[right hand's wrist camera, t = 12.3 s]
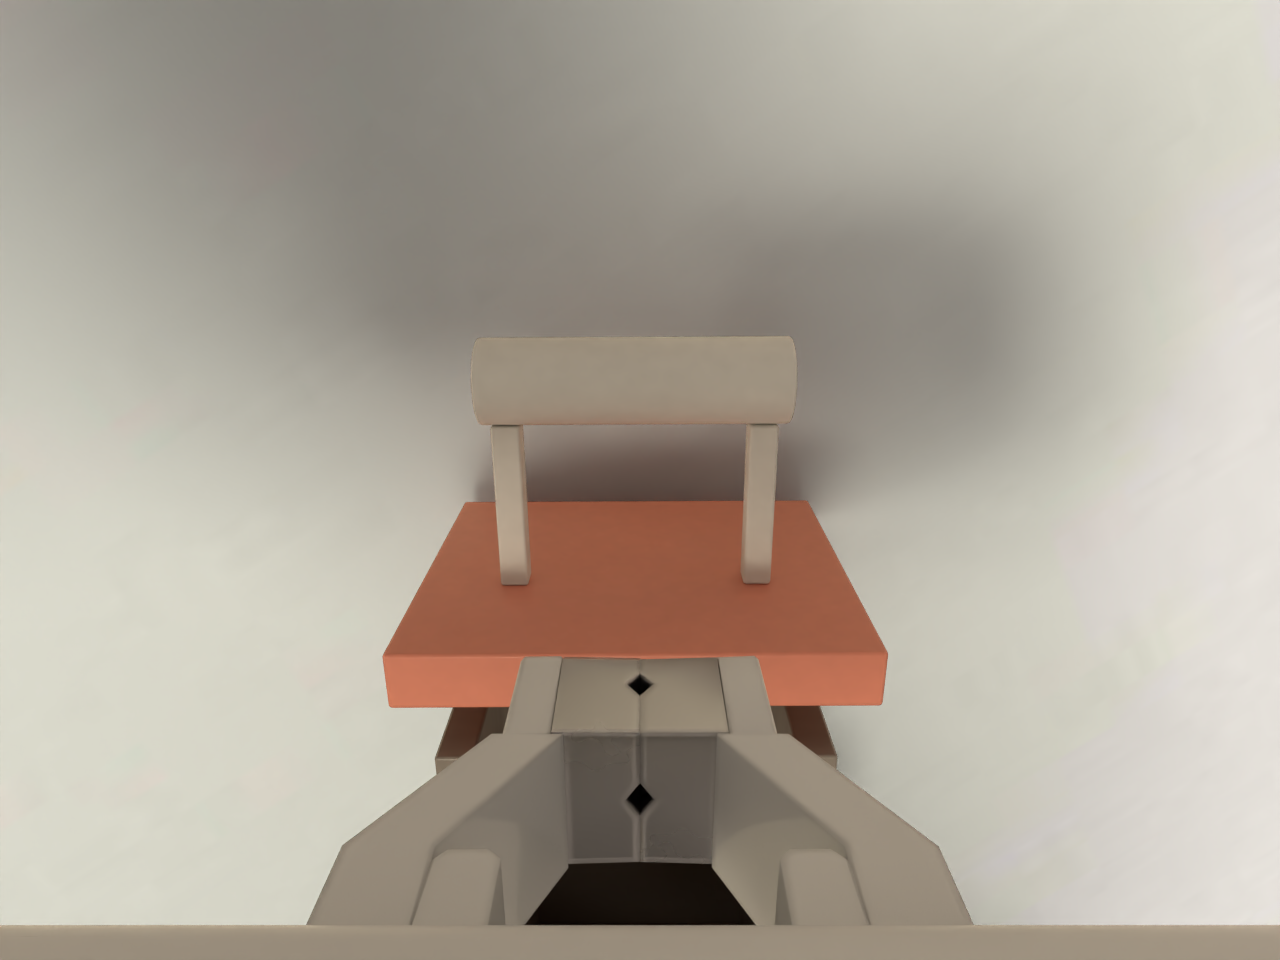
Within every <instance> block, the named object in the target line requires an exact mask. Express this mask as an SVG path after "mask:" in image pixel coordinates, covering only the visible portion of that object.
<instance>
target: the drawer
mask: <svg viewBox="0 0 1280 960" xmlns="http://www.w3.org/2000/svg"><path fill="white" fill-rule="evenodd" d="M471 393H472V402H473V408H474V412H475V416H476V419H477V421H478V423H479V424H481V425H492V426H491V429H490V433H491V447H492V461H493V475H494V489H495V502H466V503H465V504H464V506H463V508H462V510H461V512H460V513H459V515H458V517H457V519H456V521H455V523H454V524H453V526H452V528H451V530H450V532H449V534H448V536H447V537H446V539H445V541H444V543H443V545H442V547H441V549H440V550H439V552H438V554H437V556H436V558H435V560H434V561H433V563H432V565H431V567H430V569H429V571H428V573H427V574H426V576H425V578H424V580H423V582H422V584H421V586H420V587H419V589H418V591H417V593H416V595H415V597H414V599H413V600H412V602H411V604H410V606H409V608H408V610H407V611H406V613H405V615H404V617H403V619H402V621H401V623H400V624H399V626H398V628H397V630H396V632H395V634H394V636H393V637H392V639H391V641H390V643H389V645H388V647H387V648H386V650H385V652H384V654H383V664H384V672H385V679H386V687H387V694H388V702H389V706H390V707H392V708H414V707H453V709H452V711H451V714H450V717H449V720H448V723H447V726H446V728H445V731H444V734H443V737H442V740H441V743H440V745H439V748H438V751H437V754H436V757H435V764H436V773H437V774H438V773H440V772H441V771H442V770H444V769H445V768H446V767H448V766H449V765H450V764H452V763H453V762H454V761H456V760H457V759H458V758H460V757H461V756H462V755H464V754H465V753H466V752H468V751H469V750H470V749H472V748H473V747H474V746H476V745H477V744H478V743H480V742H481V741H482V740H484V739H485V738H486V737H488V736H489V735H490V734H503V730H504V726H505V722H506V718H507V714H508V710H509V706H510V702H511V698H512V694H513V690H514V687H515V683H516V679H517V675H518V671H519V667H520V663H521V661H522V660H523V658H524V657H529V656H561V657H562V658H564V657H611V658H640V659H671V658H711V657H735V656H755V657H756V658H758V660H759V664H760V667H761V671H762V675H763V679H764V683H765V687H766V691H767V695H768V699H769V703H770V707H771V711H772V715H773V719H774V723H775V727H776V731H777V734H790V735H791V736H792V737H794V738H795V739H796V740H798V741H799V742H800V743H802V744H803V745H804V746H806V747H807V748H808V749H810V750H811V751H812V752H814V753H815V754H816V755H818V756H819V757H820V758H822V759H823V760H824V761H826V762H827V763H828V764H830V765H831V766H832V767H833V768H835V769H836V766H837V754H836V751H835V748H834V745H833V742H832V740H831V737H830V734H829V731H828V728H827V725H826V722H825V719H824V716H823V713H822V711H821V708H820V706H839V705H881V704H882V702H883V693H884V685H885V676H886V668H887V659H888V653H887V651H886V649H885V647H884V645H883V643H882V641H881V639H880V637H879V635H878V633H877V632H876V630H875V628H874V626H873V624H872V622H871V620H870V618H869V616H868V615H867V613H866V611H865V609H864V607H863V605H862V603H861V601H860V599H859V597H858V596H857V594H856V592H855V590H854V588H853V586H852V584H851V582H850V580H849V579H848V577H847V575H846V573H845V571H844V569H843V567H842V565H841V563H840V561H839V560H838V558H837V556H836V554H835V552H834V550H833V548H832V546H831V544H830V542H829V541H828V539H827V537H826V535H825V533H824V531H823V529H822V527H821V525H820V524H819V522H818V520H817V518H816V516H815V514H814V512H813V510H812V508H811V506H810V505H809V503H808V501H806V500H805V501H775V488H776V470H777V453H778V435H779V427H778V425H777V424H787V423H789V422H790V421H791V419H792V417H793V414H794V410H795V404H796V395H797V357H796V350H795V345H794V342H793V340H792V338H791V337H789V336H716V337H515V338H478V339H477V340H476V341H475V344H474V347H473V352H472V359H471ZM590 424H747V429H746V453H745V477H744V500H743V501H599V502H527V488H526V471H525V453H524V436H523V425H590ZM525 925H755V923H754V922H753V921H752V919H751V918H750V917H749V915H748V914H747V913H746V911H745V910H744V909H743V908H742V906H741V905H740V904H739V902H738V901H737V900H736V898H735V897H734V896H733V894H732V893H731V892H730V890H729V889H728V888H727V887H726V885H725V884H724V883H723V881H722V880H721V879H720V877H719V876H718V875H717V873H716V872H715V871H714V870H713V868H712V864H699V863H664V862H615V863H580V864H568V869H567V870H566V872H565V873H564V874H563V876H562V877H561V878H560V879H559V881H558V882H557V883H556V885H555V886H554V887H553V889H552V890H551V891H550V893H549V894H548V895H547V896H546V898H545V899H544V900H543V902H542V903H541V904H540V906H539V907H538V908H537V909H536V911H535V912H534V913H533V915H532V916H531V917H530V919H529V920H528V921H527V922H526V924H525Z"/></svg>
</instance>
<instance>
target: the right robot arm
mask: <svg viewBox="0 0 1280 960" xmlns="http://www.w3.org/2000/svg"><path fill="white" fill-rule="evenodd" d="M615 862H664V863H699V864H712V868H713V870H714V871H715V872H716V873H717V875H718V876H719V877H720V879H721V880H722V881H723V883H724V884H725V885H726V887H727V888H728V889H729V890H730V892H731V893H732V894H733V896H734V897H735V898H736V900H737V901H738V902H739V904H740V905H741V906H742V908H743V909H744V910H745V911H746V913H747V914H748V915H749V917H750V918H751V919H752V921H753V922H754V923H755V925H525V924H526V922H527V921H528V920H529V919H530V917H531V916H532V915H533V913H534V912H535V911H536V909H537V908H538V907H539V906H540V904H541V903H542V902H543V900H544V899H545V898H546V896H547V895H548V894H549V893H550V891H551V890H552V889H553V887H554V886H555V885H556V883H557V882H558V881H559V879H560V878H561V877H562V876H563V874H564V873H565V872H566V870H567V869H568V864H580V863H615ZM0 960H1280V925H974V924H973V922H972V920H971V918H970V915H969V913H968V911H967V909H966V907H965V904H964V902H963V900H962V898H961V895H960V893H959V891H958V889H957V886H956V884H955V882H954V880H953V878H952V875H951V873H950V871H949V869H948V866H947V864H946V862H945V860H944V857H943V855H942V853H941V851H940V848H939V847H938V846H937V845H936V844H934V843H933V842H932V841H930V840H929V839H928V838H926V837H925V836H924V835H922V834H921V833H920V832H919V831H917V830H916V829H915V828H913V827H912V826H911V825H909V824H908V823H907V822H905V821H904V820H903V819H901V818H900V817H899V816H897V815H896V814H895V813H893V812H892V811H891V810H889V809H888V808H887V807H885V806H884V805H883V804H881V803H880V802H879V801H877V800H876V799H875V798H873V797H872V796H871V795H869V794H868V793H867V792H865V791H864V790H863V789H861V788H860V787H859V786H857V785H856V784H855V783H853V782H852V781H851V780H849V779H848V778H847V777H845V776H844V775H843V774H841V773H840V772H839V771H837V770H836V769H835V768H833V767H832V766H831V765H830V764H828V763H827V762H826V761H824V760H823V759H822V758H820V757H819V756H818V755H816V754H815V753H814V752H812V751H811V750H810V749H808V748H807V747H806V746H804V745H803V744H802V743H800V742H799V741H798V740H796V739H795V738H794V737H792V736H791V735H790V734H777V731H776V727H775V723H774V719H773V715H772V711H771V707H770V703H769V699H768V695H767V691H766V687H765V683H764V679H763V675H762V671H761V667H760V664H759V660H758V658H756V657H755V656H735V657H711V658H671V659H640V658H611V657H564V658H562V657H561V656H529V657H524V658H523V660H522V661H521V663H520V667H519V671H518V675H517V679H516V683H515V687H514V690H513V694H512V698H511V702H510V706H509V710H508V714H507V718H506V722H505V726H504V730H503V734H490V735H489V736H488V737H486V738H485V739H484V740H482V741H481V742H480V743H478V744H477V745H476V746H474V747H473V748H472V749H470V750H469V751H468V752H466V753H465V754H464V755H462V756H461V757H460V758H458V759H457V760H456V761H454V762H453V763H452V764H450V765H449V766H448V767H446V768H445V769H444V770H442V771H441V772H440V773H438V774H437V775H436V776H434V777H433V778H432V779H430V780H429V781H428V782H426V783H425V784H424V785H422V786H421V787H420V788H418V789H417V790H416V791H414V792H413V793H412V794H410V795H409V796H408V797H406V798H405V799H404V800H402V801H401V802H400V803H398V804H397V805H396V806H394V807H393V808H392V809H390V810H389V811H388V812H386V813H385V814H384V815H382V816H381V817H380V818H378V819H377V820H376V821H374V822H373V823H372V824H370V825H369V826H368V827H366V828H365V829H364V830H362V831H361V832H360V833H358V834H357V835H356V836H354V837H353V838H352V839H350V840H349V841H348V842H346V843H345V844H344V845H342V847H341V849H340V852H339V854H338V856H337V858H336V860H335V863H334V865H333V867H332V869H331V871H330V874H329V876H328V878H327V880H326V882H325V885H324V887H323V889H322V891H321V893H320V896H319V898H318V900H317V902H316V904H315V907H314V909H313V911H312V913H311V915H310V918H309V920H308V922H307V924H306V925H0Z"/></svg>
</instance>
